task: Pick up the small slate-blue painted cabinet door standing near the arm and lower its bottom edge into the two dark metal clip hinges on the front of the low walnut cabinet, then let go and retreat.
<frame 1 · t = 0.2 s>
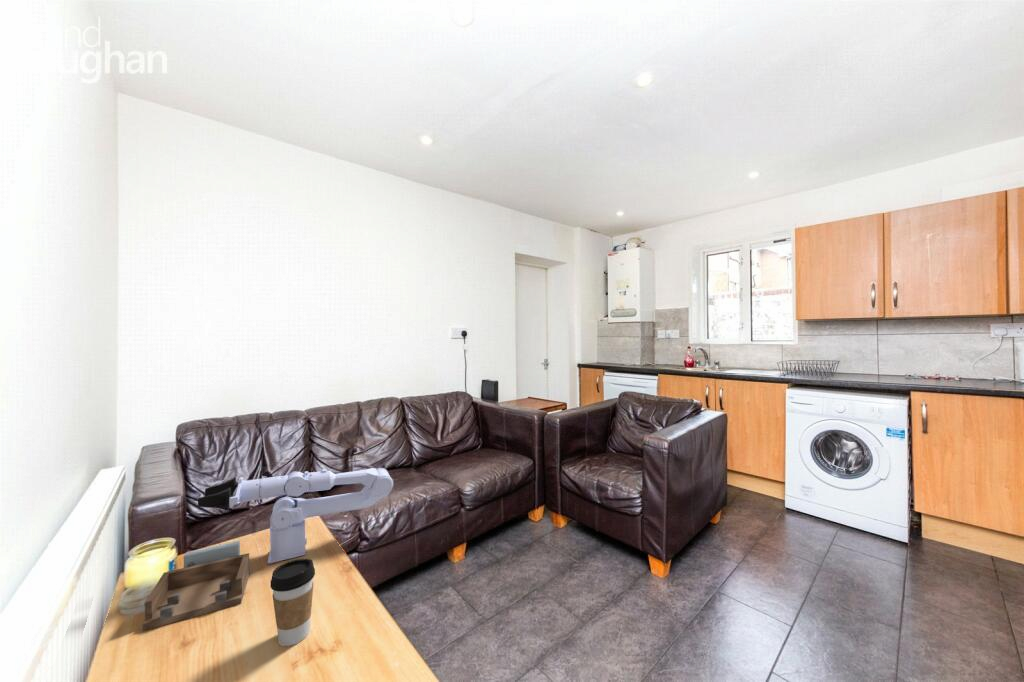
hand: (201, 497, 105), 21 cm above the table, tool horizontal, fingers open, 7 cm apart
cabinet: (202, 598, 95), on the table
door: (213, 573, 105), on the table
coffee cup: (294, 636, 82), on the table
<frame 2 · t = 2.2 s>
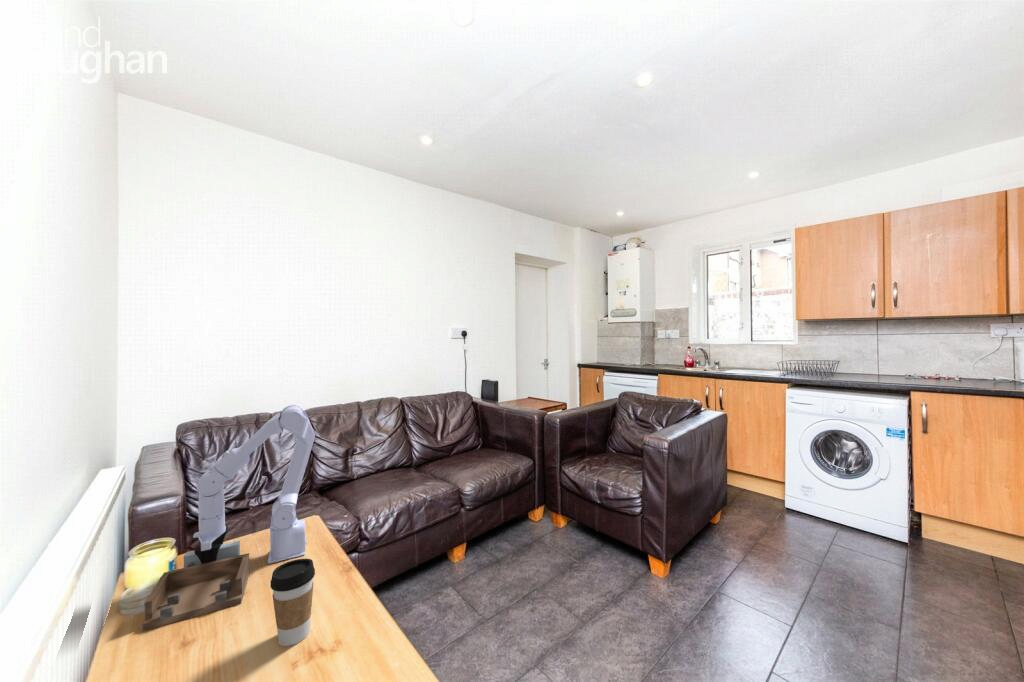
hand: (212, 563, 105), 3 cm above the table, tool pointing down, fingers open, 7 cm apart
nothing on the table moved.
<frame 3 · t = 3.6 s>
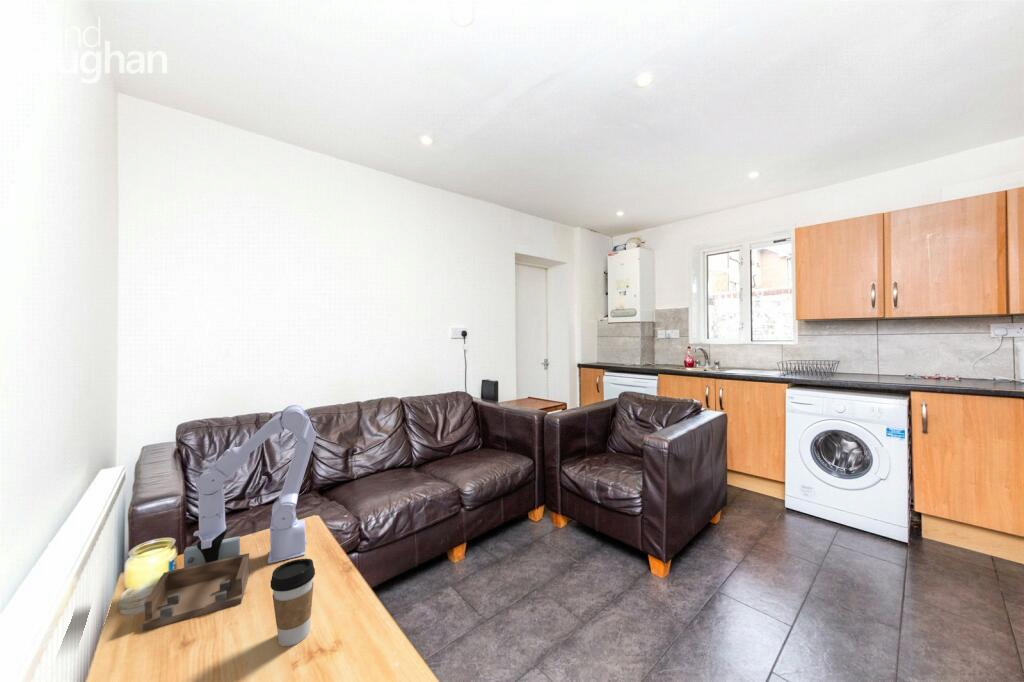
hand: (213, 561, 105), 3 cm above the table, tool pointing down, fingers closed on door, 2 cm apart
door: (213, 568, 105), point 1 cm above the table, touching gripper
everything else where it was.
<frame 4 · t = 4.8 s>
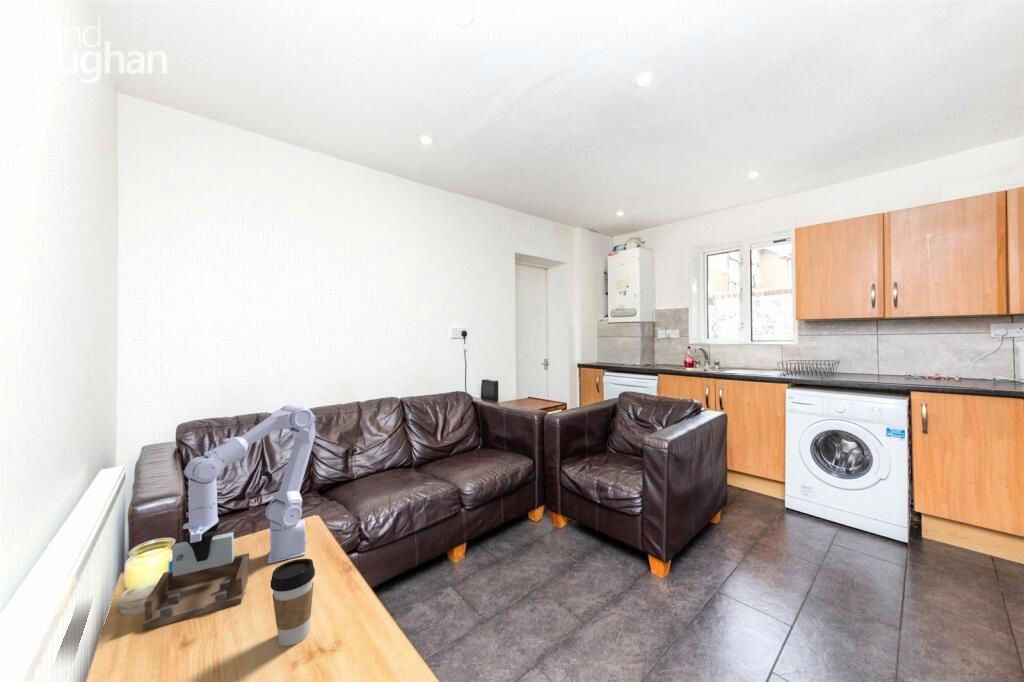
hand: (204, 557, 98), 9 cm above the table, tool pointing down, fingers closed on door, 2 cm apart
door: (204, 567, 98), point 6 cm above the table, touching gripper
everything else where it was.
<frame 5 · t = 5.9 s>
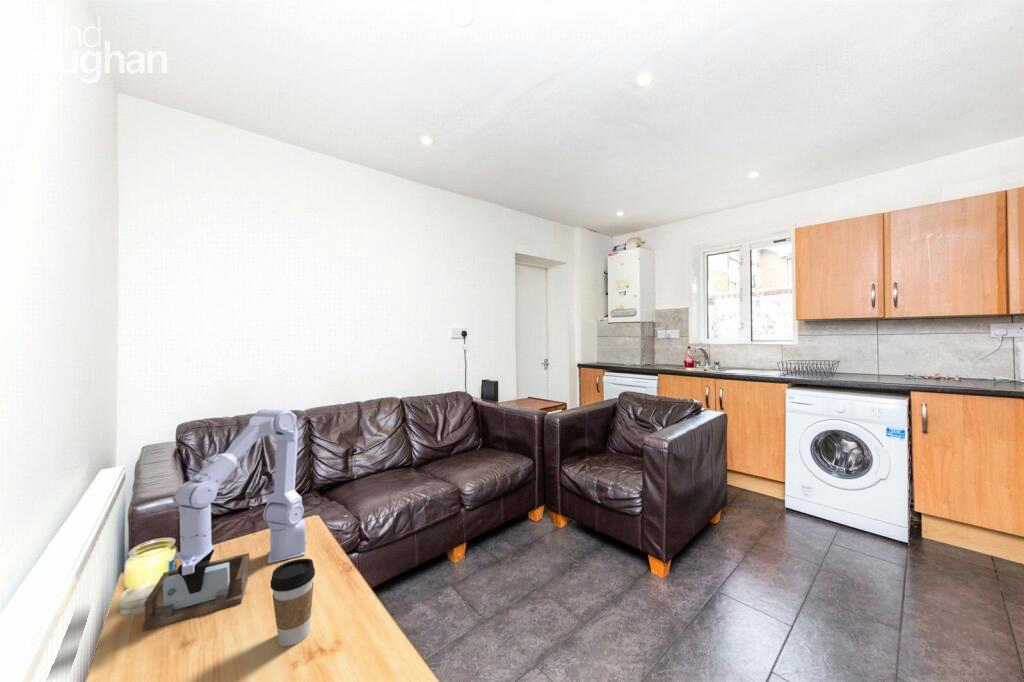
hand: (197, 588, 91), 5 cm above the table, tool pointing down, fingers closed on door, 2 cm apart
door: (198, 600, 91), point 2 cm above the table, touching gripper
everything else where it was.
when the fingers open (4 cm above the table, at t = 6.3 s): door stays where it is, resting on cabinet.
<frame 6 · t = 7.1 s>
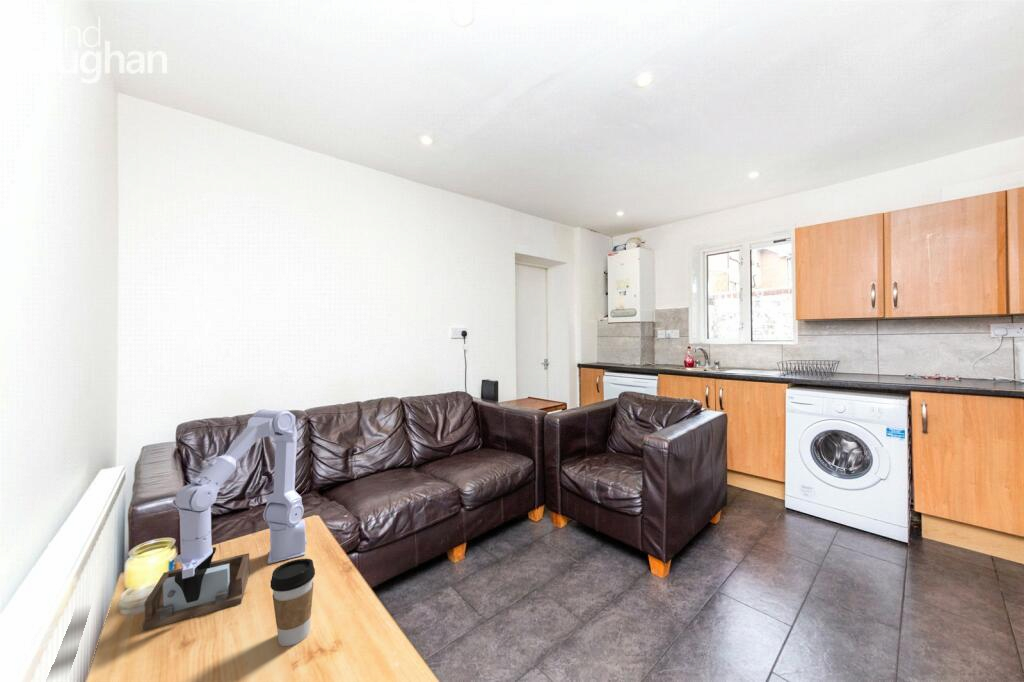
hand: (197, 591, 91), 4 cm above the table, tool pointing down, fingers open, 7 cm apart
door: (198, 602, 91), point 1 cm above the table, touching cabinet
everything else where it was.
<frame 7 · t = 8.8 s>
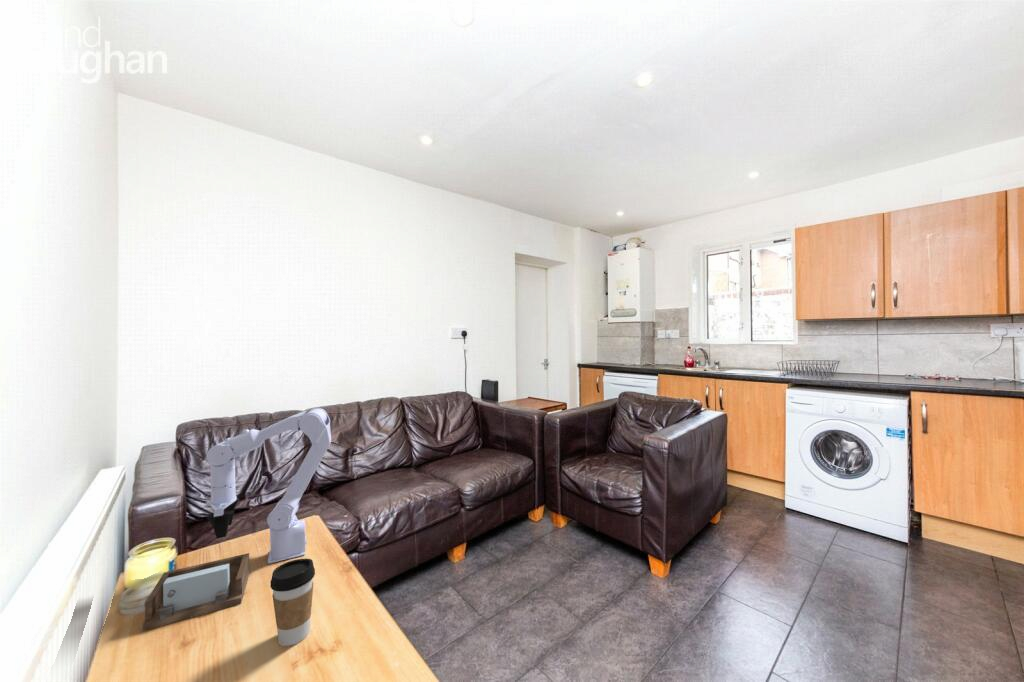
hand: (224, 531, 110), 9 cm above the table, tool pointing down, fingers open, 7 cm apart
nothing on the table moved.
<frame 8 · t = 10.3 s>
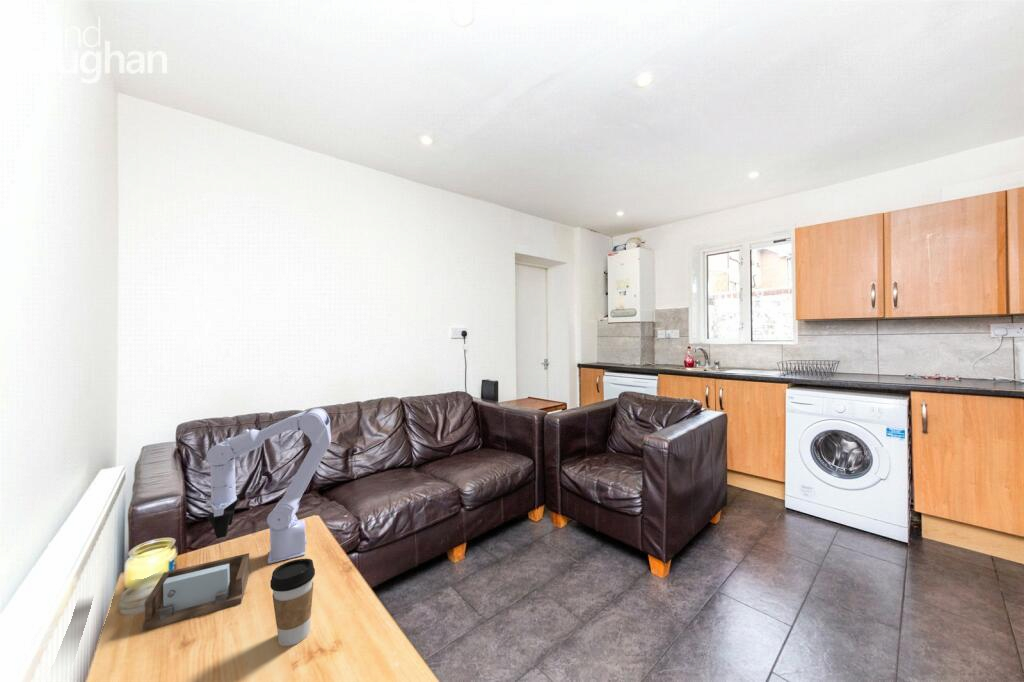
hand: (224, 531, 110), 9 cm above the table, tool pointing down, fingers open, 7 cm apart
nothing on the table moved.
at the end: door 0.1 cm from the target spot on the cabinet, point 1.5 cm above the cabinet's base; door tilted 0°; the gripper is holding nothing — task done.
